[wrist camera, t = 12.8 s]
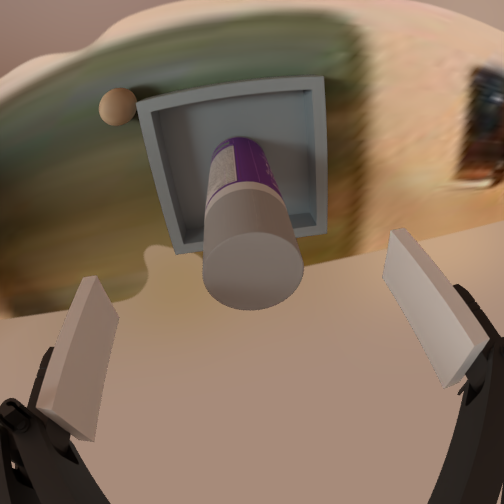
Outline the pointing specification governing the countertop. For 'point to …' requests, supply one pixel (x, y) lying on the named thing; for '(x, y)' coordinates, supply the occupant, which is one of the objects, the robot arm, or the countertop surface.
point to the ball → (118, 106)
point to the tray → (238, 124)
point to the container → (247, 231)
